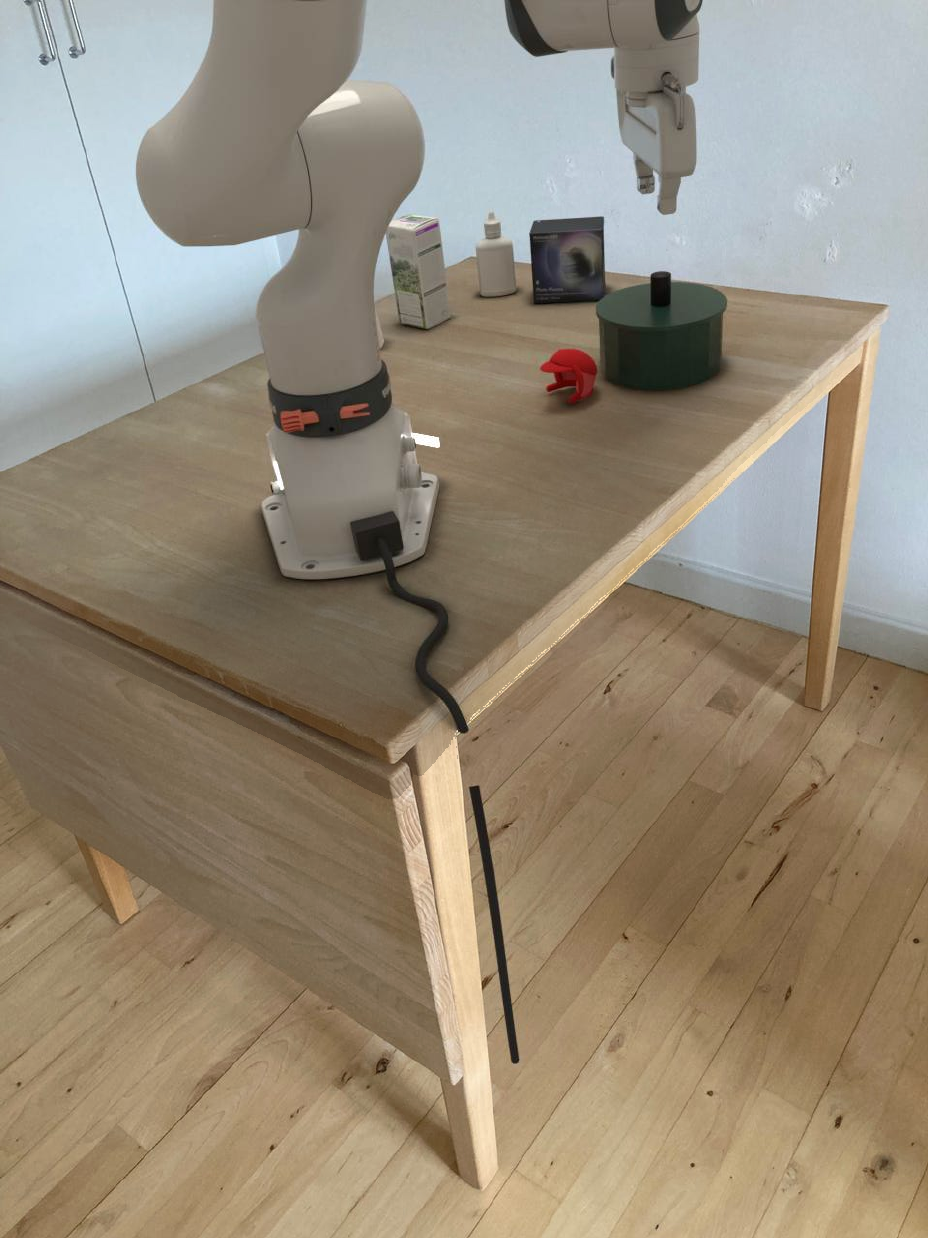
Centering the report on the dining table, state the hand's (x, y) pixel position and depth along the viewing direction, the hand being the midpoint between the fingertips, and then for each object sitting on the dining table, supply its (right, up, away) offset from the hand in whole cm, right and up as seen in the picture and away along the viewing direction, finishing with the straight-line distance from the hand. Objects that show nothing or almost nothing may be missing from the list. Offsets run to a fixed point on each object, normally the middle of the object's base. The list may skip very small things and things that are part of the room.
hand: (655, 202), depth 118 cm
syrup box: (-28, -4, +35) cm, 44 cm away
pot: (+3, -16, +12) cm, 20 cm away
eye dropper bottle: (-17, +3, +41) cm, 45 cm away
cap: (-9, -21, +7) cm, 24 cm away
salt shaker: (-36, -9, +29) cm, 47 cm away
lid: (+2, -10, +7) cm, 12 cm away
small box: (-6, +1, +37) cm, 37 cm away
